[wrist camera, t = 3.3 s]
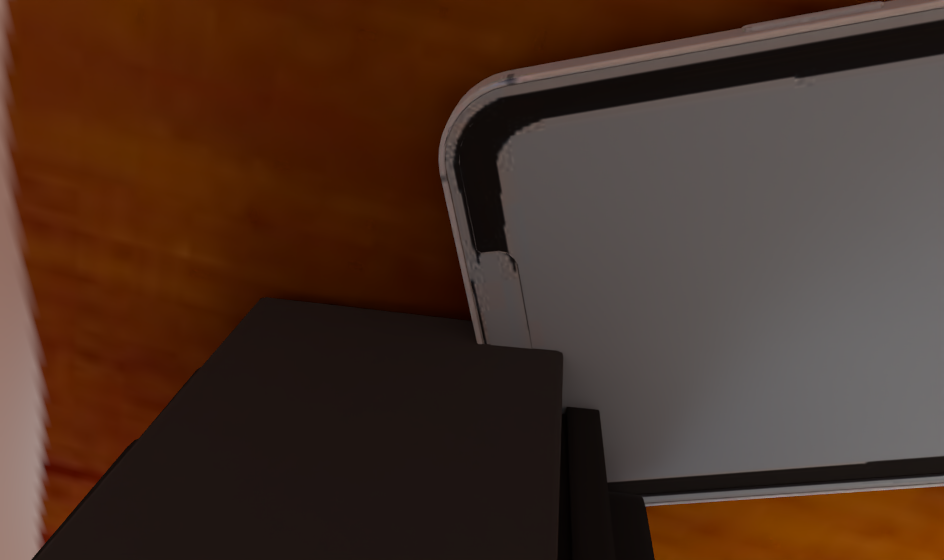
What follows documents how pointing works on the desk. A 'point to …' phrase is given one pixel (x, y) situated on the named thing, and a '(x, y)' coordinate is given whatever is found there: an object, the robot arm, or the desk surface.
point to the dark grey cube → (340, 448)
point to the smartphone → (724, 248)
